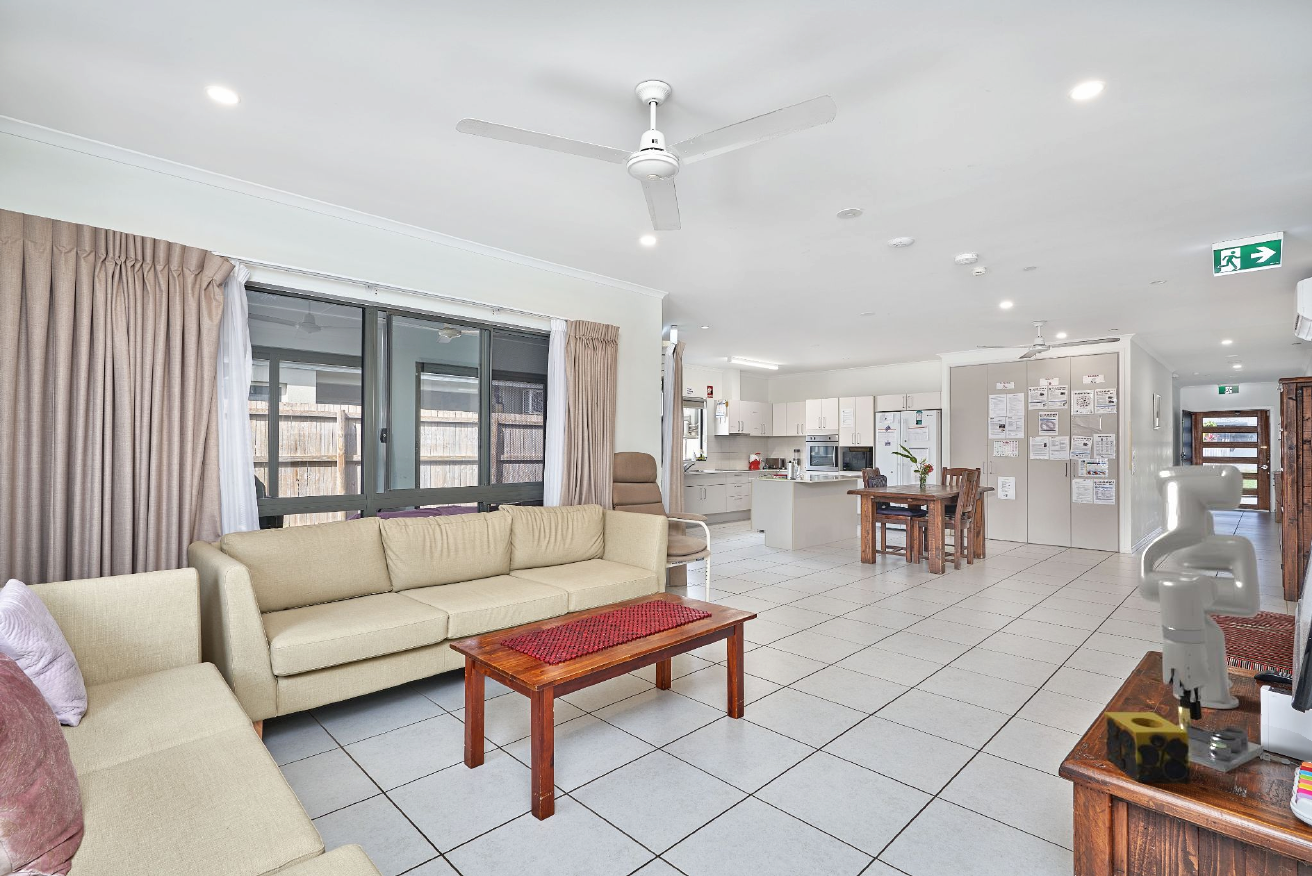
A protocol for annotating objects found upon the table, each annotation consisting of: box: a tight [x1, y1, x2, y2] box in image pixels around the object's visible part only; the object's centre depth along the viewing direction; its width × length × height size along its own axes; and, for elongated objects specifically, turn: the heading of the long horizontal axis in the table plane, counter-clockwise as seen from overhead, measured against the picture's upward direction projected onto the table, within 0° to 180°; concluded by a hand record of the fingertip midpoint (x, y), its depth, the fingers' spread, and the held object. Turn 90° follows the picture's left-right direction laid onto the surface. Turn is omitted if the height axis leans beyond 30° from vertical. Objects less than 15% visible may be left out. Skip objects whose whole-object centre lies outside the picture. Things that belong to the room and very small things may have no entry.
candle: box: [1103, 711, 1192, 784], centre depth 127 cm, size 10×10×10 cm
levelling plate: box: [1176, 724, 1264, 774], centre depth 135 cm, size 16×14×4 cm
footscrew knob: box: [1177, 705, 1241, 752], centre depth 135 cm, size 10×5×6 cm, turn 24°
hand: (1191, 717), depth 140 cm, fingers closed
